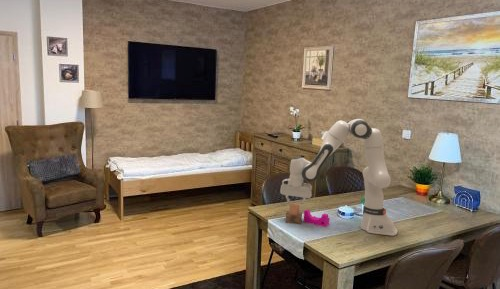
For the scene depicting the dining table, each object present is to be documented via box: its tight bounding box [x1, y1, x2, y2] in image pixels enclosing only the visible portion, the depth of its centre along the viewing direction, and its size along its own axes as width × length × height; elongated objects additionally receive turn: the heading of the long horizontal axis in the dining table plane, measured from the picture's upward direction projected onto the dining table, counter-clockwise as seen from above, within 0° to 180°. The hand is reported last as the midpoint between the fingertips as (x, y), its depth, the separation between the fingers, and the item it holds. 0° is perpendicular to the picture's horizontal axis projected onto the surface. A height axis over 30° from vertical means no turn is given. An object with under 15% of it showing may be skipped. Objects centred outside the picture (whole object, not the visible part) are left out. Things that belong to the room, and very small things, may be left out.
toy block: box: [303, 209, 330, 228], centre depth 245 cm, size 15×6×8 cm, turn 57°
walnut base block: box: [285, 210, 303, 225], centre depth 247 cm, size 10×10×5 cm
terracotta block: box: [288, 203, 300, 216], centre depth 246 cm, size 5×5×6 cm
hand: (295, 202), depth 245 cm, fingers open, 8 cm apart
